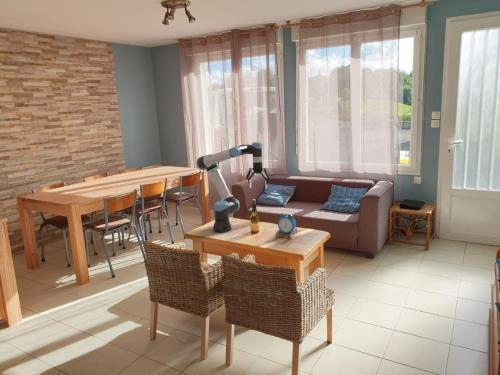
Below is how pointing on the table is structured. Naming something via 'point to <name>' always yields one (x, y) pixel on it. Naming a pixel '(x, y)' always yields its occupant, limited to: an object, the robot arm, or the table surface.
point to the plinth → (286, 234)
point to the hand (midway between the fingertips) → (258, 188)
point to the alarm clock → (286, 223)
